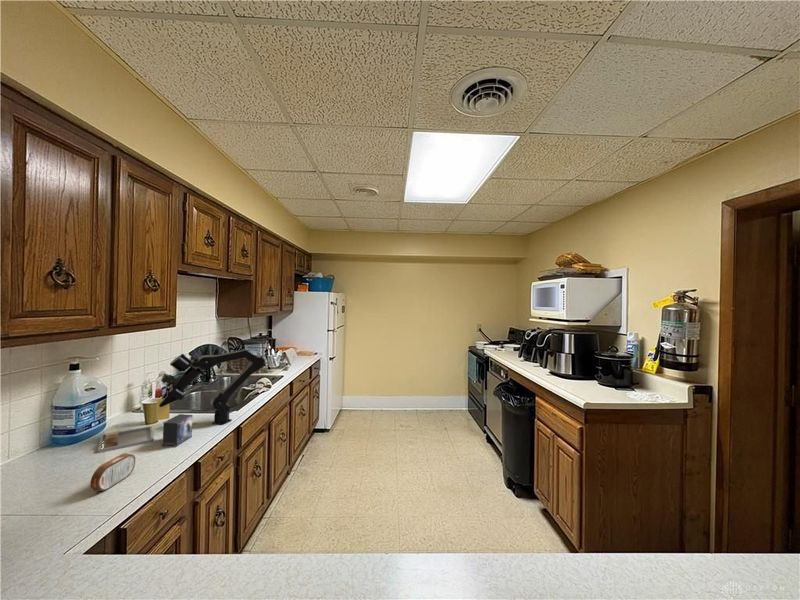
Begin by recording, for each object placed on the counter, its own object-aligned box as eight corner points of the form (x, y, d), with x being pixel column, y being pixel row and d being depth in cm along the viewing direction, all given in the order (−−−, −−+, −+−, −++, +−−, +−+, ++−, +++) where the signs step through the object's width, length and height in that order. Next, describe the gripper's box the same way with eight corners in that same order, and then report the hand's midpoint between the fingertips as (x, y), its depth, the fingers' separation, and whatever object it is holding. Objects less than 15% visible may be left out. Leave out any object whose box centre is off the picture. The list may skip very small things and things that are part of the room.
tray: (151, 429, 159) (151, 426, 159) (153, 442, 145) (153, 439, 145) (101, 438, 148) (101, 435, 148) (97, 453, 134) (97, 450, 134)
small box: (176, 447, 141) (177, 422, 141) (161, 447, 141) (162, 422, 141) (193, 437, 152) (193, 414, 151) (178, 436, 152) (179, 413, 152)
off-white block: (118, 437, 149) (118, 428, 149) (117, 440, 146) (117, 431, 146) (106, 439, 147) (106, 430, 147) (106, 442, 143) (106, 433, 143)
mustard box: (168, 415, 158) (168, 397, 158) (169, 418, 154) (169, 400, 154) (156, 417, 155) (156, 399, 155) (157, 420, 152) (157, 401, 152)
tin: (128, 472, 121) (129, 448, 121) (137, 472, 121) (137, 449, 121) (88, 496, 106) (89, 469, 106) (98, 496, 106) (99, 470, 106)
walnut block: (117, 442, 144) (117, 433, 144) (117, 446, 140) (117, 436, 140) (105, 445, 141) (106, 435, 141) (105, 448, 138) (105, 438, 138)
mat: (177, 420, 170) (177, 420, 170) (196, 423, 167) (196, 423, 167) (154, 429, 159) (154, 429, 159) (173, 433, 155) (174, 432, 155)
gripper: (171, 364, 164) (143, 390, 157) (175, 371, 150) (144, 400, 143) (190, 377, 169) (163, 403, 163) (196, 385, 155) (167, 414, 148)
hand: (159, 405), depth 154 cm, fingers closed on mustard box, 4 cm apart
